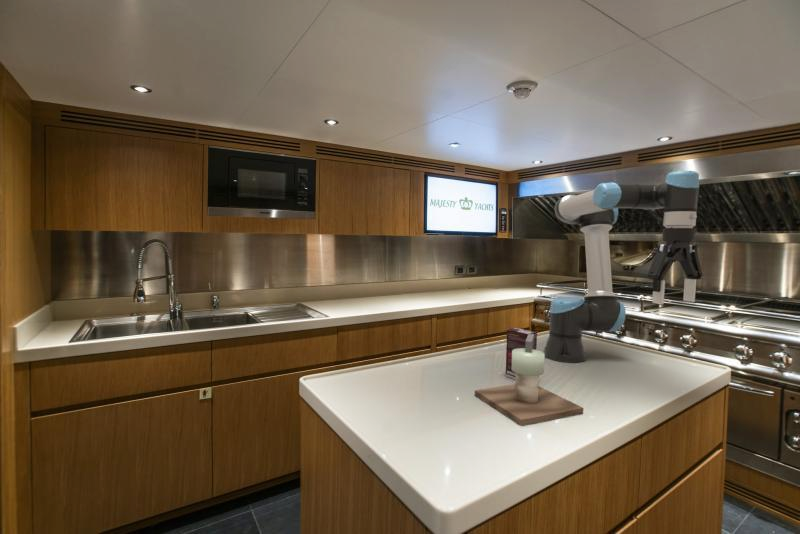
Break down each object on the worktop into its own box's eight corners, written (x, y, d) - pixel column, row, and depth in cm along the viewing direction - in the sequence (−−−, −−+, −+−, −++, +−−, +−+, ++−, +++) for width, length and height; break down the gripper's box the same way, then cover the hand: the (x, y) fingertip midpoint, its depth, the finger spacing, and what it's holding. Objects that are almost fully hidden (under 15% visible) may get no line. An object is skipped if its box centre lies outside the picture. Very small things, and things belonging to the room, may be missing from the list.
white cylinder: (543, 377, 101) (544, 347, 101) (509, 372, 104) (510, 343, 104) (545, 362, 114) (546, 335, 114) (515, 358, 117) (516, 332, 117)
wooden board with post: (474, 395, 113) (475, 364, 112) (530, 386, 120) (531, 357, 120) (521, 425, 94) (522, 389, 94) (583, 413, 102) (584, 379, 101)
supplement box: (536, 381, 125) (538, 332, 124) (526, 384, 123) (528, 333, 122) (514, 373, 132) (515, 327, 131) (504, 376, 130) (506, 328, 129)
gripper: (663, 225, 102) (657, 306, 104) (721, 228, 112) (715, 302, 113) (635, 226, 109) (631, 302, 111) (692, 228, 119) (687, 298, 120)
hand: (673, 302), depth 112 cm, fingers open, 13 cm apart
